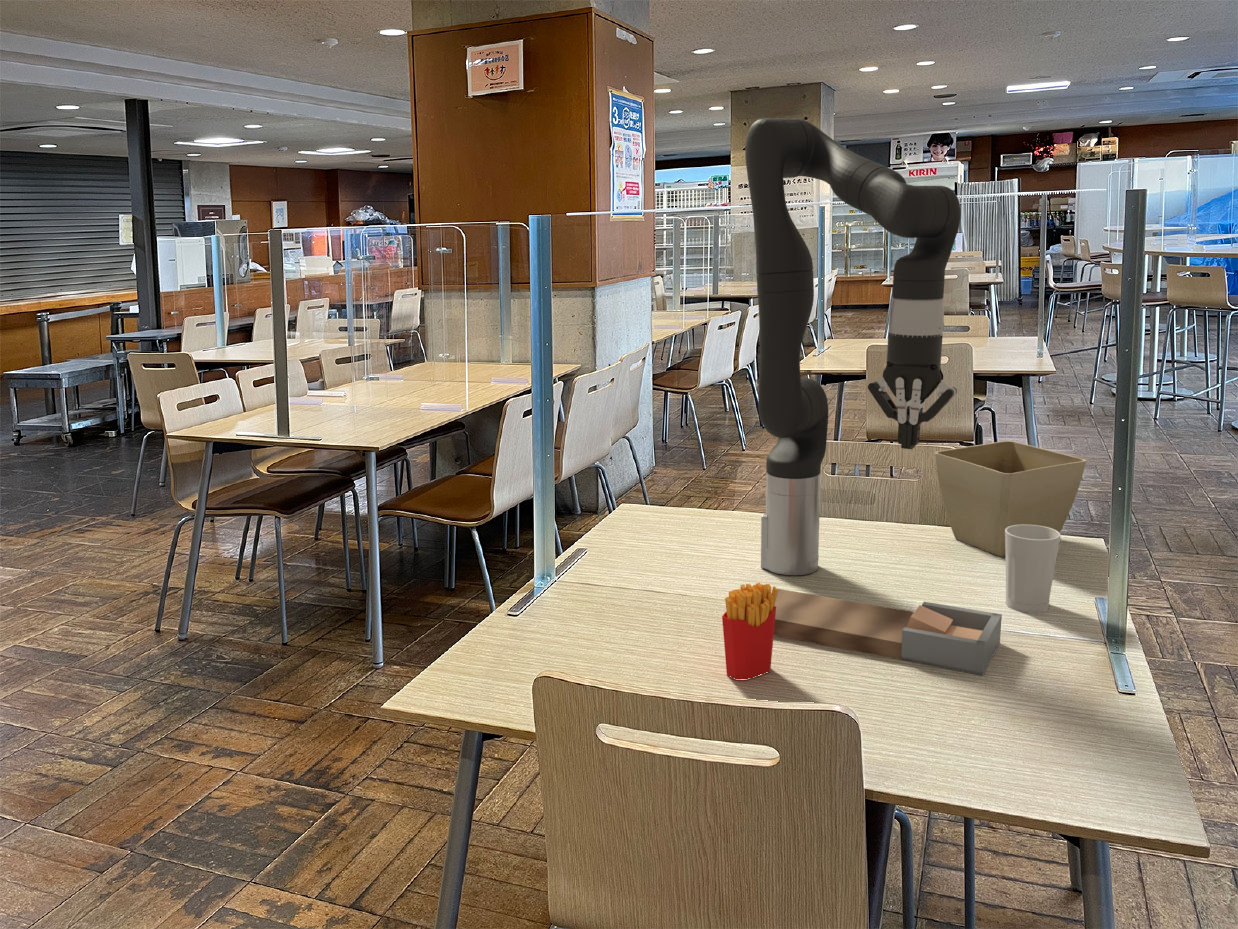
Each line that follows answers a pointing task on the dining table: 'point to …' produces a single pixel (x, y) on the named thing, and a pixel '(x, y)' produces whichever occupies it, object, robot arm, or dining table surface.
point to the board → (840, 623)
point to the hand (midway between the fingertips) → (908, 447)
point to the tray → (954, 641)
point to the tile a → (929, 621)
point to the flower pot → (1005, 490)
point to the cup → (1030, 566)
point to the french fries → (749, 630)
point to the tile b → (963, 632)
